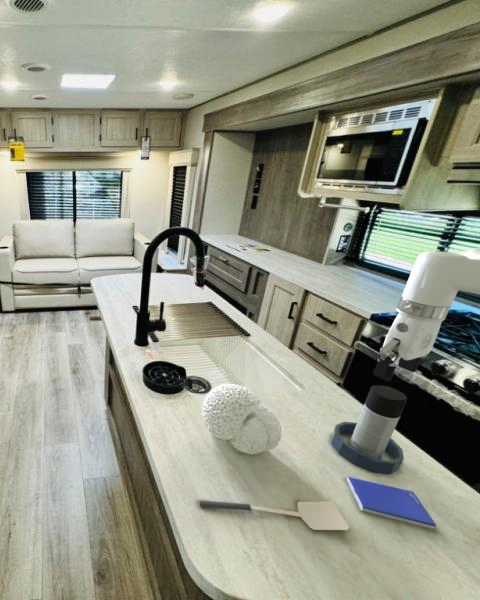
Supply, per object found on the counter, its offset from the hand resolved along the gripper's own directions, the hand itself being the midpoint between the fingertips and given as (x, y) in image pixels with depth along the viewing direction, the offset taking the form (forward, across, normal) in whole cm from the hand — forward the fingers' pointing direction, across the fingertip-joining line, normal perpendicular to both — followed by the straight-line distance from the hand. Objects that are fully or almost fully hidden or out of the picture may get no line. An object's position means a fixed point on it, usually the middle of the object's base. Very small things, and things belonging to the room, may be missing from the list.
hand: (393, 373), depth 75 cm
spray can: (+25, 0, -1) cm, 25 cm away
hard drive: (+25, -11, -11) cm, 30 cm away
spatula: (+26, -37, -3) cm, 45 cm away
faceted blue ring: (+25, 0, 0) cm, 25 cm away
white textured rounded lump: (+26, -27, +17) cm, 41 cm away
